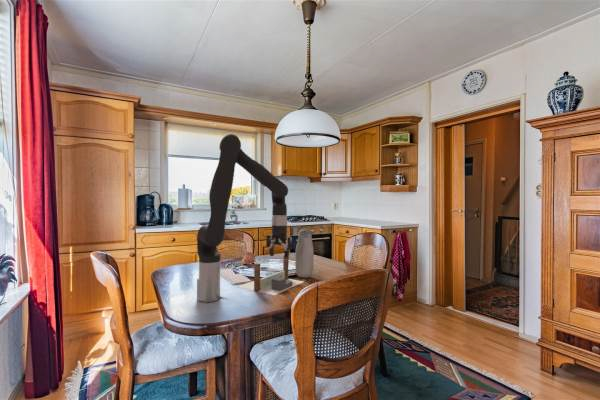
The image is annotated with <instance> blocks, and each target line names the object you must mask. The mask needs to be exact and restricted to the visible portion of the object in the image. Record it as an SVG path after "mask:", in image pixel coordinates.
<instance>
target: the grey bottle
mask: <svg viewBox="0 0 600 400" xmlns="http://www.w3.org/2000/svg"><path fill="white" fill-rule="evenodd" d="M314 249H315V248H314V244H313V238H312V231H311V230H310V229H308V228H302V229H300V230H299V232H298V236H297V243H296V247H295V257H294V258H295V273H296V276H297V277H298V278H301V279H308V278H310V277H311V276H312V275H313V272H314V254H315V253H314V251H315V250H314Z"/></svg>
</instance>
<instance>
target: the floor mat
mask: <svg viewBox="0 0 600 400" xmlns="http://www.w3.org/2000/svg"><path fill="white" fill-rule="evenodd" d="M264 277H265V276H264ZM264 277H262V278H264ZM287 281H292V286H290V287H288V288H286V289H283V290H281V291H277V290H273V289H272V285H269V286H267V287H264V288H262V289H260V291H258V293H263V294H267V295H271V296H277V295H279V294H280V293H283V292H285V291H287V290H290V289H291V288H293V287H296V286H298V285H300V284H303V283H304V282H305V281H304V280H303V281H302V280H298V279H293V278H288V279H287ZM237 288H240V289H243V290H249V291H253V292H255V291H254V280H253V281H252V280H251V281H250V282H247V283H244V284H240V285H238V286H237Z"/></svg>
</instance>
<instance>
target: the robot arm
mask: <svg viewBox="0 0 600 400" xmlns="http://www.w3.org/2000/svg"><path fill="white" fill-rule="evenodd" d="M218 147H219V151H220V153H219V160H218V164H217V167H216V169H215V171H214V174H213V178H212V182H211V185H210V188H209V197H208V198H209V206H210V217H209V221H208V224H204V225H202V226H200V228H199V229H198V231H197V233H196V246H197V247H196V251H197V256H198V278H197V280H196V301H199V302H202V303H213V302H217V301H218V300H220V299H221V275H220V270H221V269H220V268H221V254H220V252H219V251H218V248H217V247H218V246H220V245H221V244H222V242H223V240H224V237H225V228H226V219H227V213H228V208H229V203H230V199H231V194H232V190H233V184H234V177H235V170H236V169H235V168H236V164H238V166H240V167H241V168H243V169H244V170H245V171H246V172H247V173H248V174H250V175H251V176H252V177H253V178H254V179H255V180H256V181H258V182H259V184H261V185H262V186H264V187H265V188H267V189H268V190H269V191H270V192H271V201H272V208H271V209H272V213H271V214H272V215H271V234H267V235H266V241H265V242H266V244H265V246H266V248H268V249H269V256H270V257H274V255H275V247H276V246H277V245H278V246H282V248H283V249H284V255H283V258H288V257H289V256H290V251H291V250H293V249H294V248H293V247H294V246H293V244H294V243H293V242H294V241H293V237H292V236H288V235H287V234H288V215H287V214H288V213H287V212H288V207H287V206H288V205H287V204H286V196H287V195H288V193H289V188H288V186H287V184H285V183H284V182H283V181H281V180H280V179H279V178H278V177H276V176H274V175H273V173H272V172H271V171H269V170H268V169H267V168H266V167H265V166H264V165H262V164H261V163H260V162H258V161H256V160H254V159H253V158H252V157H250V156H249V155H248V154H247V153H246V152H244V151H243V149H242V148H241V147H242V143H241V140H240V138H239V137H238V136H237V135H235V134H233V133H232V134H231V133H229V134H226V135H225V136H224V137H222V139H221V141H220V142H219V146H218ZM289 258H290V257H289Z"/></svg>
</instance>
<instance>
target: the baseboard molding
mask: <svg viewBox="0 0 600 400" xmlns="http://www.w3.org/2000/svg"><path fill="white" fill-rule="evenodd" d="M231 269H232V266H231V267H229V268H226V267H225V266H223V267H222V268H221V267H220V277H222V278H223V279H225V280H226V281H227V282H230V283H229V284H230V285H232V286H236V285H244V284H247V283H249V282H252V280H251V279H249V278H248V277H247V276H245V275H244V274H242V275H238V274H235V273H234V272H233V271H232V270H231ZM243 275H244V276H243Z"/></svg>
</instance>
